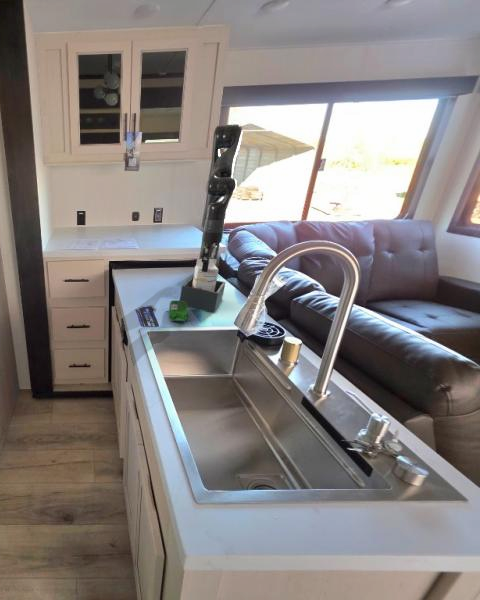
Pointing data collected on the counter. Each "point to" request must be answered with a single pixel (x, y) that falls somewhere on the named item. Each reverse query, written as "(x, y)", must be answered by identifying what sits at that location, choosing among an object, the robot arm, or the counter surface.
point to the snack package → (178, 311)
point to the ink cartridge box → (205, 276)
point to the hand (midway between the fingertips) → (206, 269)
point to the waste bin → (202, 296)
